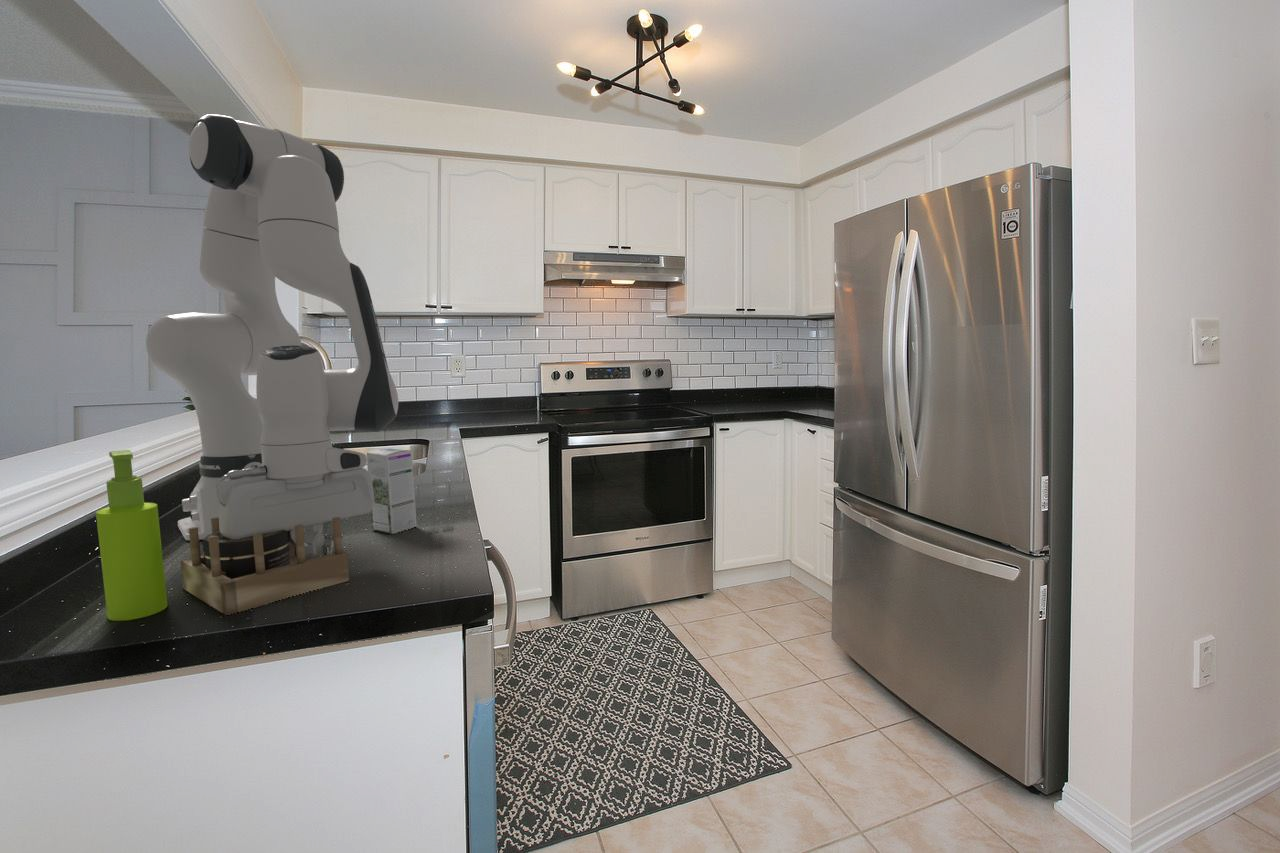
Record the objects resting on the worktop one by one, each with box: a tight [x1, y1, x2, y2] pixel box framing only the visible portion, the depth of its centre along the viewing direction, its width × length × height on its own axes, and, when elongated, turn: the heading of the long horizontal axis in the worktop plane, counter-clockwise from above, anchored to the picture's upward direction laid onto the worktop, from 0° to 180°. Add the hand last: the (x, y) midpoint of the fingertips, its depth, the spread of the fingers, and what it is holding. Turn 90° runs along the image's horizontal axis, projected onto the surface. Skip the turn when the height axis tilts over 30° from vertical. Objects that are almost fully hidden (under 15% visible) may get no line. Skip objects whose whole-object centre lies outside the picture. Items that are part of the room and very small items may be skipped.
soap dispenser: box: [95, 449, 168, 622], centre depth 79 cm, size 6×7×20 cm
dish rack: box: [180, 517, 350, 616], centre depth 88 cm, size 15×15×9 cm
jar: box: [202, 530, 290, 579], centre depth 87 cm, size 10×10×8 cm
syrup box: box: [366, 447, 418, 535], centre depth 115 cm, size 6×6×14 cm
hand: (305, 556), depth 92 cm, fingers closed
